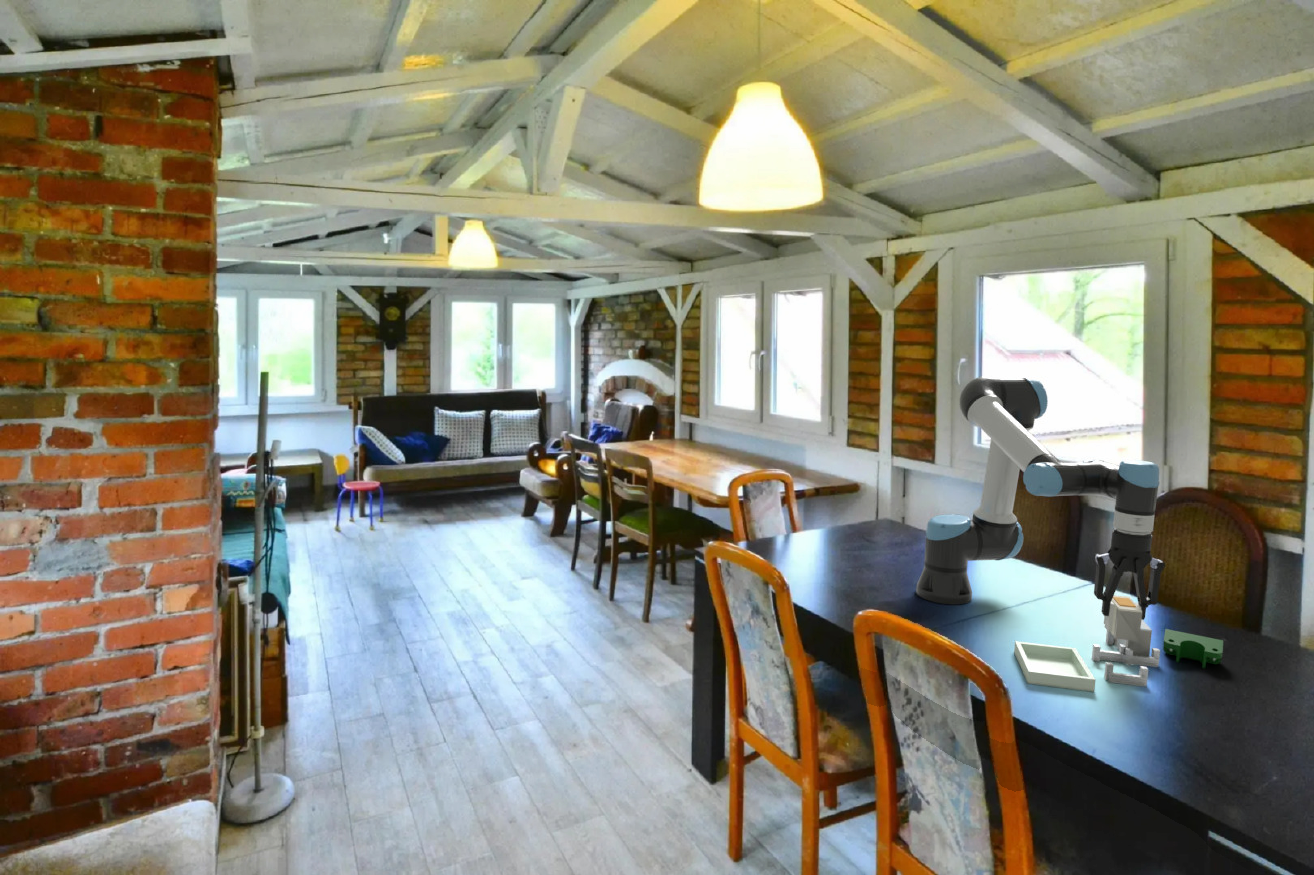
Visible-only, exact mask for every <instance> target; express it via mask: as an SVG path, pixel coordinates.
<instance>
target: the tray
mask: <svg viewBox="0 0 1314 875" xmlns="http://www.w3.org/2000/svg"><path fill="white" fill-rule="evenodd" d="M1013 652H1014V655H1015V658H1016V660H1017V662H1018V665H1019V667H1020V670H1021V671H1022V674H1023V676H1024V678H1025V681H1026V683H1027V684H1028V685H1029V684H1030V685H1036V686H1037V685H1038V686H1043V687H1052V688H1060V689H1067V690H1075V691H1083V692H1089V693H1090V692H1091V693H1095V688H1096V678H1095V677H1094V675H1093V674H1092V673H1093V672H1092V671H1091V670H1090V669H1089V667H1088V666H1087V663H1086V662H1085V661H1084V659H1083V658H1082V656H1081V655H1080V652H1079V651H1078V650H1077V648H1076V647H1069V646H1060V645H1050V644H1042V643H1033V642H1025V641H1017V640H1015V641H1014V651H1013Z"/></svg>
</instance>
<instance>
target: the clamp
mask: <svg viewBox="0 0 1314 875" xmlns="http://www.w3.org/2000/svg"><path fill="white" fill-rule="evenodd" d="M1162 645H1163V647H1162V649H1163V650H1162V651H1163V652H1164V653H1166V654H1167V655H1171V656H1176V658H1175V662H1177V663H1179V662H1180V660H1181V658H1185V659H1189V660H1194V661H1198V662H1200V663H1201V664H1202V668H1203V669H1205V668H1206V665H1207V664H1213V665H1219V664H1221V661H1222V658H1223V653H1224V652H1223V650H1224V640H1223V639H1217V638H1212V637H1208V636H1203V635H1198V634H1192V633H1188V632H1182V631H1178V630H1175V629H1174V630H1173V629H1168V628H1165V630H1164V637H1163V644H1162Z"/></svg>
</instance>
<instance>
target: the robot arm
mask: <svg viewBox="0 0 1314 875" xmlns="http://www.w3.org/2000/svg"><path fill="white" fill-rule="evenodd" d="M959 408H960V411H961V413H962V415H963V417H964V418H965V420H967V421H968V423H969V424H971V425H972V426H973V427H976V428H980V429H981V430H982V431H983V432H984V433H985V434H986V435H987V436H988V437H989V438H990V443H989V450H988V456H987V462H986V468H985V475H984V482H983V486H982V494H981V499H980V506H978V507H977V508H976V509H974V510H973V512H972V519H971V518H970V517H968V516H966V515H962V514H950V513H949V514H939V515H936V516H933V517H931V518H930V519H929V520H928V521H927V525H926V530H925V545H924V546H925V548H924V565H923V569H922V572H921V573H920V574H921V575H920V576H919V579H918V581H917V583H916V589H915V590H916V591H915V593H916V595H917V596H919V597H920V598H922V599H924V600H926V601H929V602H933V603H938V604H943V605H944V604H945V605H965V604H968V603H970V602H971V601H972V598H973V591H972V590H973V589H972V586H971V583H970V580H969V575H968V562H970V561H971V562H972V561H1002V560H1007V559H1008V560H1009V559H1013V557H1015V556H1017V554H1019V552H1020V551H1021V549H1022V547H1023V543H1024V534H1023V532H1022V531H1023V528H1022V525H1021V524H1020V523H1019V522H1018V518H1017V516H1016V515H1015V514H1014V513H1013V511H1014V505H1015V500H1016V493H1017V487H1018V480H1019V477H1020V476H1019V475H1020V470H1021V471H1022V472H1023V476H1022V478H1023V479H1022V480H1023V484H1024V485H1025V489H1026V490H1027V492H1028V493H1030V495H1033V496H1036V497H1041V496H1042V497H1050V498H1051V497H1059V496H1060V497H1061V496H1062V497H1063V496H1064V497H1065V496H1105V497H1106V498H1107V497H1108V498H1111V499H1114V500H1115V505H1114V514H1113V522H1112V527H1113V530H1112V533H1111V538H1110V540H1111V542H1110V548H1109V549H1108V551H1107V553H1103V554H1099V553H1095V554H1094V558H1093V559H1094V561H1095V564H1096V565H1095V576H1094V587H1093V588H1094V589H1093V595H1094V596H1095V597H1096V599H1098V600H1101V601H1102V602H1101V614H1102V615H1103V616H1106V619H1105V624H1104V628H1105V629H1106V632H1107V631H1108V632H1112V625H1113V616H1114V607H1115V604H1114V603H1113V602H1112V598H1113V596H1114V595H1115V593H1116V591H1117V588H1118V586H1119V584H1120V580H1121V577H1123V575H1124V573H1126V572H1130V573H1132V574H1133V579H1134V585H1135V590H1136V592H1135V593H1136V598H1137V602H1135V604H1136V605H1137V606H1138V607H1139V608H1140V609H1141V610H1142V620H1143V621H1144V620H1145V619H1146V612H1147V608H1149V606H1155V605H1157V604H1158V600H1159V598H1158V596H1159V592H1160V591H1159V590H1160V585H1161V574H1162V572H1163V570H1164V568H1165V567H1166V564H1165V562H1163V560H1161V559H1157V558H1154V557H1153V555H1152V553H1151V550H1152V543H1153V535H1152V532H1154V525H1155V524H1154V523H1155V514H1156V507H1157V506H1156V505H1157V499H1158V498H1157V497H1158V492H1159V491H1158V490H1159V486H1160V466H1159V465H1158V464H1156V463H1155V462H1151V461H1145V460H1139V459H1123V460H1122V461H1120V463H1119V465H1118V464H1114V463H1110V462H1107V461H1104V460H1100V459H1098V460H1096V459H1091V458H1090V459H1085V460H1083V461H1081V462H1062V461H1061V460H1059V459H1058V458H1057V456H1055V455H1054V454H1053V453H1052V452H1051V451H1050V450H1049V449H1048V448H1047V447H1045V445H1043V444H1042V443H1041V442H1040V441H1039V440H1038V439H1037V438H1036V436H1034V435H1032V433H1031V432H1030V430H1032V429H1034V425H1035V420H1036V419H1037V420H1038V419H1039V418H1041V417H1043V416H1044V414H1045V413H1046V412H1047V408H1048V394H1047V391H1046V388H1045V387H1044V385H1043V383H1042V382H1041V381H1040V380H1039V379H1037V378H1036V377H1034V376H1024V375H984V376H979V377H976V378H974V379H972V380H970V381H969V382H967V384H966V385H965V386H964V387H963V389H962V390H961V392H960V396H959ZM1109 560H1110V561H1111V563H1112V564H1113V566H1112V568H1111V573H1110V576H1109V579H1108V581H1107V584H1106V585H1105V580H1106V579H1105V577H1106V565H1107V564H1108V561H1109ZM1149 564H1150V565H1149ZM1148 565H1149V566H1150V567H1151V568H1150V574H1149V583H1148V587H1147V588H1148V590H1147V593H1146V587H1145V581H1144V576H1145V575H1144V569H1145V568H1146V567H1147V566H1148ZM1104 586H1105V588H1104Z"/></svg>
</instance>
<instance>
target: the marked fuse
mask: <svg viewBox="0 0 1314 875" xmlns="http://www.w3.org/2000/svg"><path fill="white" fill-rule="evenodd" d="M1112 602H1113V603H1114V604H1115V607H1114V616H1113V625H1112V632H1111V633H1112V635H1113V636H1114V638H1115V639H1123V640H1131V641H1139V636H1140V628H1141V620H1142V610H1141V609H1140V608H1139V607H1138V606H1137V605H1136V604H1135V603H1136V602H1135V601H1134V600H1133V599H1132V598H1131V597H1130V596H1126V595H1125V596H1124V595H1116V594H1114V596H1113V598H1112ZM1103 616H1104V615H1103ZM1105 619H1106V616H1104V619H1103V624H1104V625H1105Z"/></svg>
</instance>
